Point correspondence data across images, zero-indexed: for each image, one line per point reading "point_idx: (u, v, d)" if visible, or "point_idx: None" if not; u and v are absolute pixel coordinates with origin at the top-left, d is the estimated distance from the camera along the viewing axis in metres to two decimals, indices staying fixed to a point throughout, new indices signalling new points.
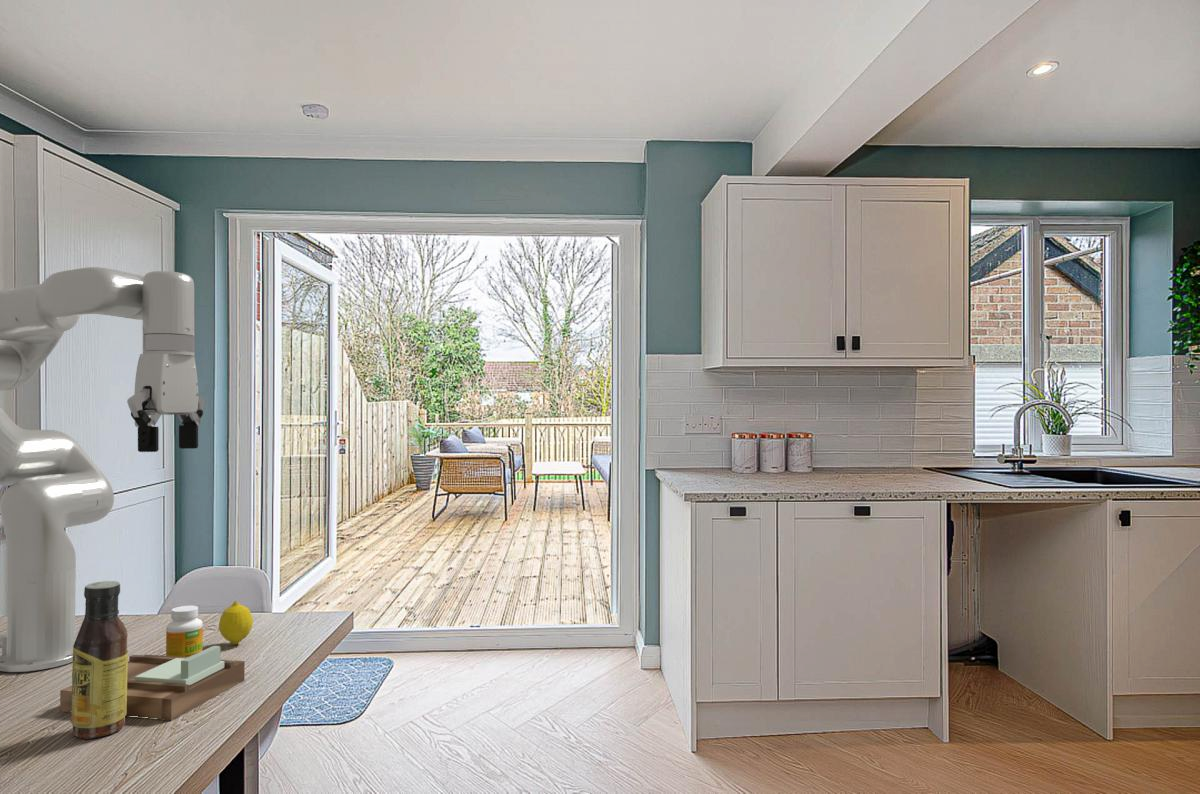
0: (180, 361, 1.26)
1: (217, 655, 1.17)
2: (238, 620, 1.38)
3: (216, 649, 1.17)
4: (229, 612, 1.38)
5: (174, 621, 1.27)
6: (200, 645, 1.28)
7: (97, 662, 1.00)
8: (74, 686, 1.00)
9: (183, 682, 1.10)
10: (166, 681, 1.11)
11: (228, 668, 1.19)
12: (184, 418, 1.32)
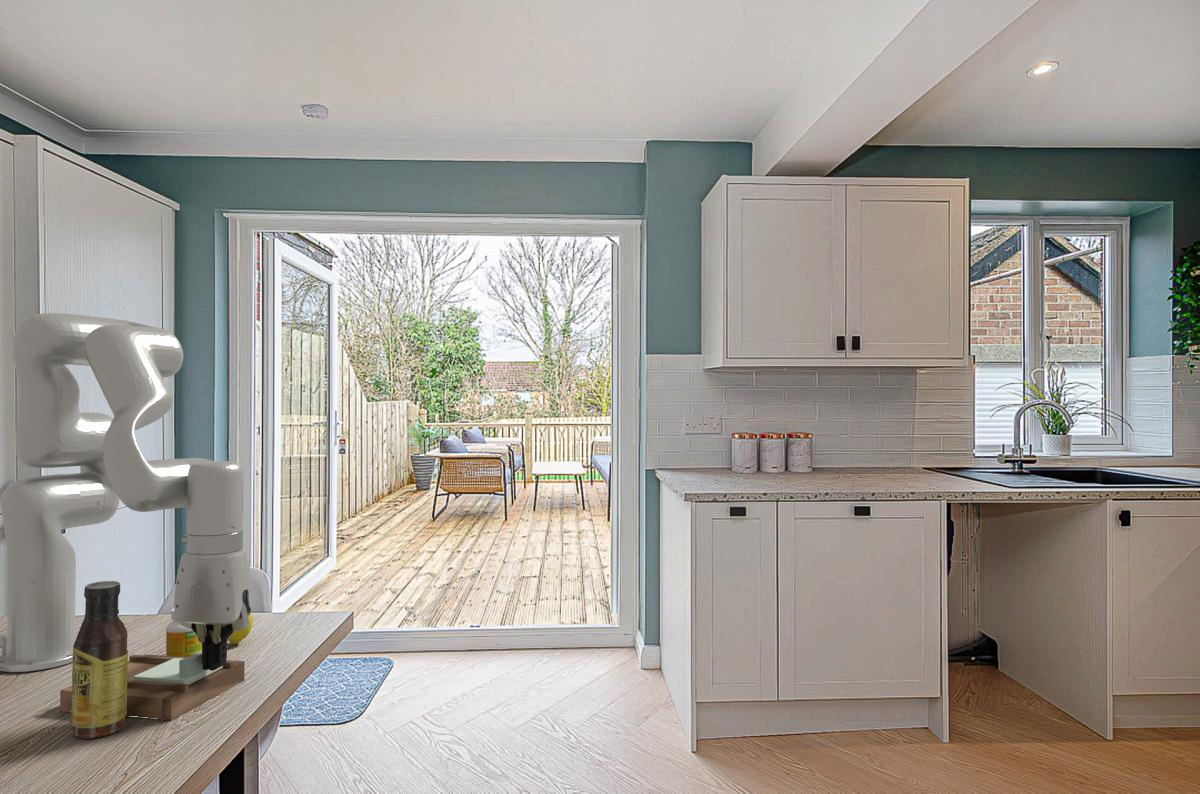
0: None
1: None
2: None
3: None
4: None
5: (174, 621, 1.27)
6: (200, 645, 1.28)
7: (97, 662, 1.00)
8: (74, 686, 1.00)
9: (182, 682, 1.10)
10: (164, 681, 1.11)
11: (228, 668, 1.19)
12: None
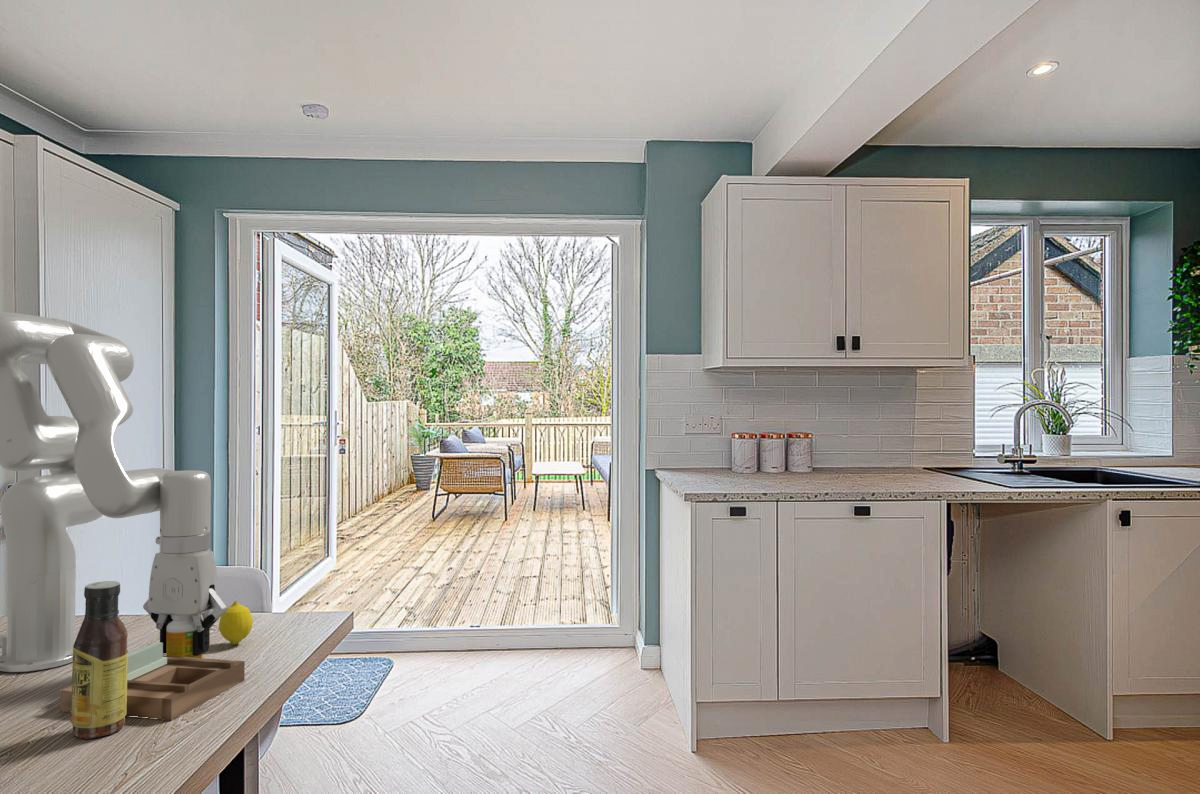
0: None
1: (159, 651, 1.19)
2: (238, 620, 1.38)
3: (158, 645, 1.19)
4: (229, 612, 1.38)
5: (174, 621, 1.27)
6: None
7: (97, 662, 1.00)
8: (74, 686, 1.00)
9: None
10: None
11: (228, 668, 1.19)
12: None
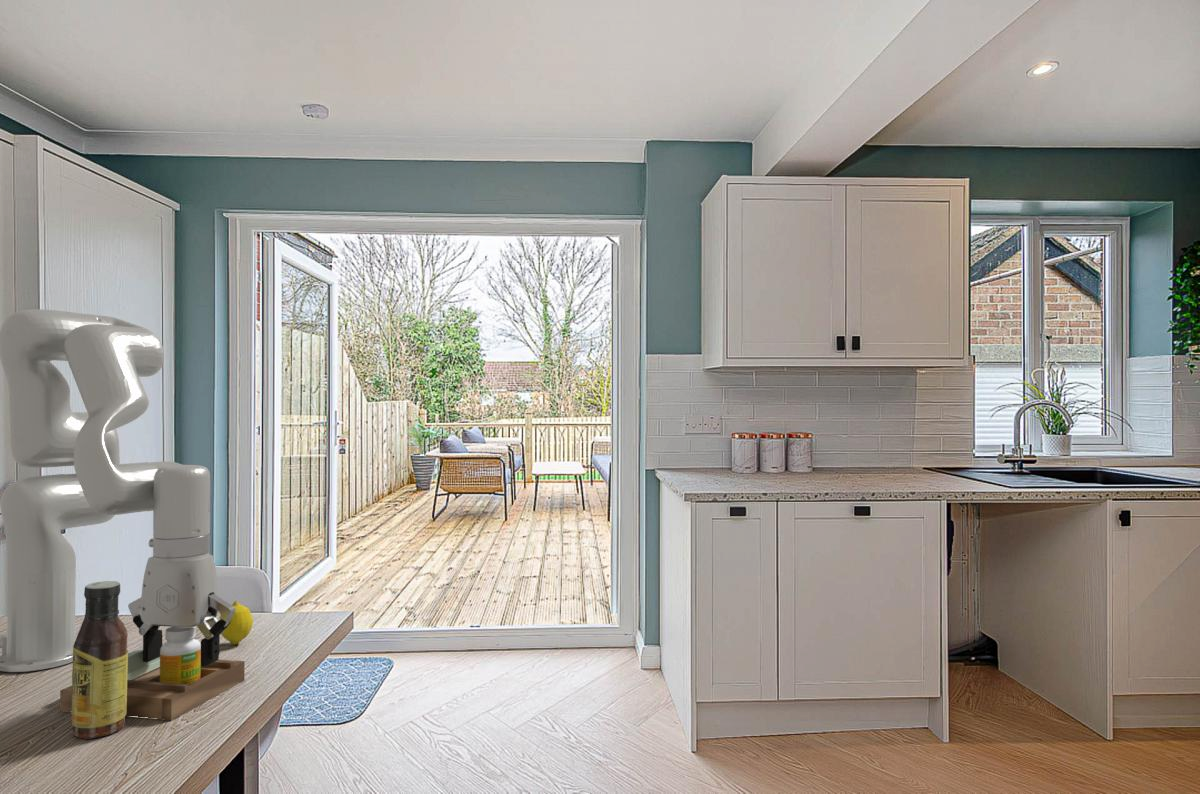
0: None
1: None
2: (238, 620, 1.38)
3: None
4: None
5: (169, 643, 1.14)
6: (198, 669, 1.15)
7: (97, 662, 1.00)
8: (74, 686, 1.00)
9: None
10: None
11: (228, 668, 1.19)
12: None
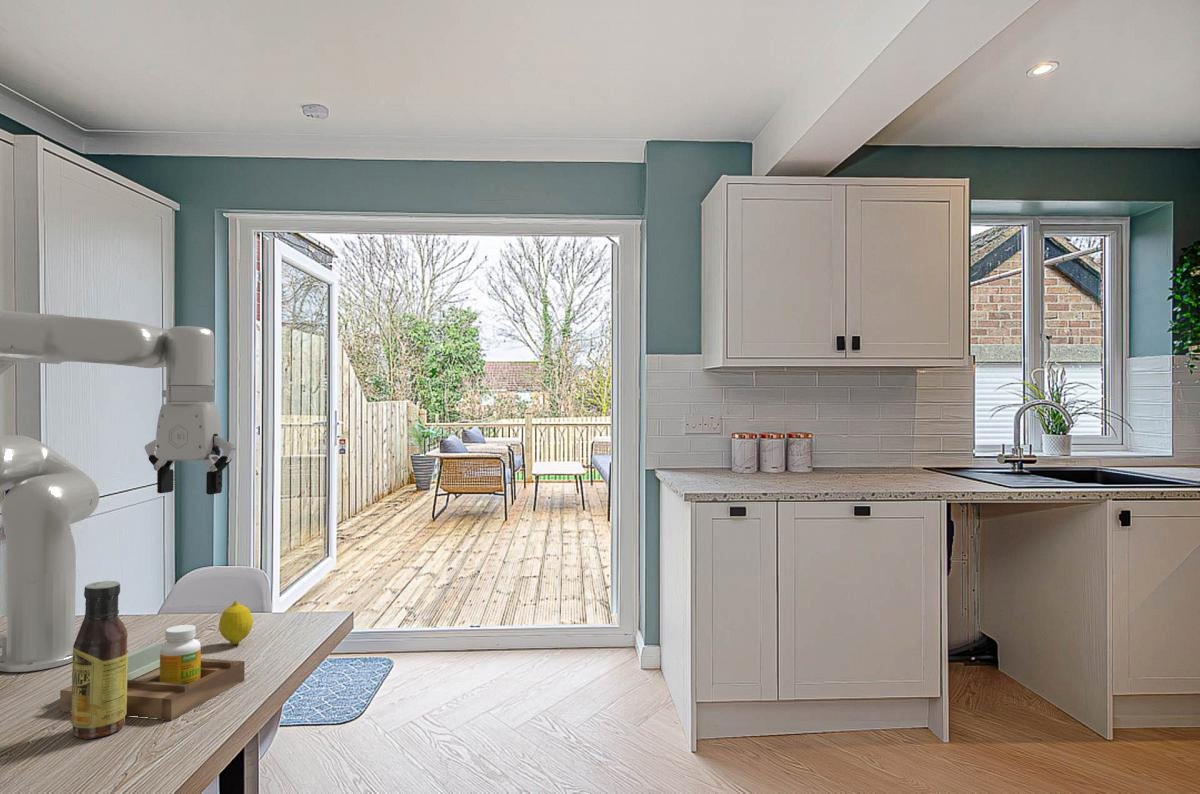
0: None
1: (159, 651, 1.19)
2: (238, 620, 1.38)
3: (158, 645, 1.19)
4: (229, 612, 1.38)
5: (169, 643, 1.14)
6: (198, 669, 1.15)
7: (97, 662, 1.00)
8: (74, 686, 1.00)
9: None
10: None
11: (228, 668, 1.19)
12: None
